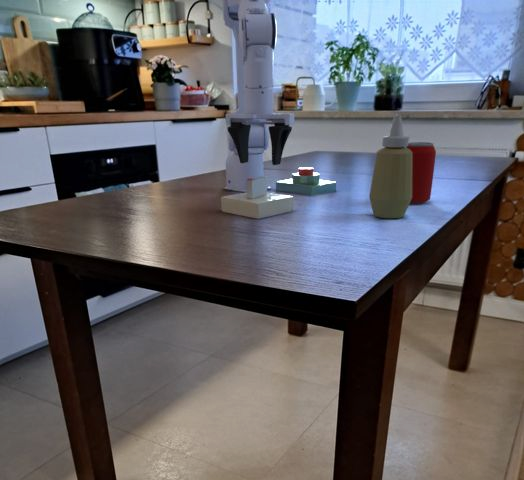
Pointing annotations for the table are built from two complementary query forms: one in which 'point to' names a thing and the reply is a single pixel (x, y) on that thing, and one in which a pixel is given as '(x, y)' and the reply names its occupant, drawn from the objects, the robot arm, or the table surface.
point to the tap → (256, 187)
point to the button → (306, 171)
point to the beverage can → (422, 170)
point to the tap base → (257, 205)
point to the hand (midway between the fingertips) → (260, 163)
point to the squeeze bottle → (392, 175)
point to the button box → (306, 185)
